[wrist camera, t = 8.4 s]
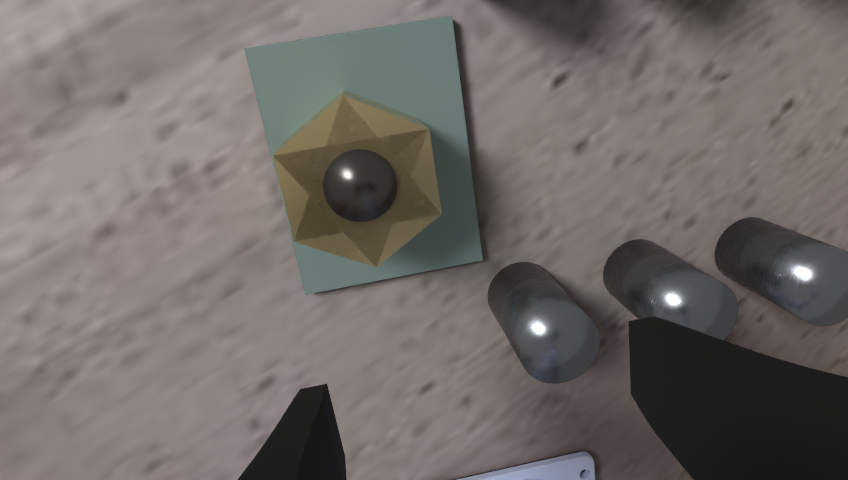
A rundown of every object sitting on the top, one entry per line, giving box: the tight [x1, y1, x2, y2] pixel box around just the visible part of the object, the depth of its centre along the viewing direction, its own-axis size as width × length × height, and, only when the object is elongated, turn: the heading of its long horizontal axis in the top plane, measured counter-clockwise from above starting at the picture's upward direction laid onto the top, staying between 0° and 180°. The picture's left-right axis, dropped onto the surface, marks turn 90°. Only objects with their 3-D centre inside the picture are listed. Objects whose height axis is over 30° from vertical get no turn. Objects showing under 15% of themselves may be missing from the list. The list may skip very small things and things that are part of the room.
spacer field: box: [488, 217, 848, 383], centre depth 19 cm, size 16×13×4 cm
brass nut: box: [273, 90, 442, 267], centre depth 18 cm, size 5×5×4 cm
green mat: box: [245, 16, 483, 295], centre depth 20 cm, size 9×7×1 cm
